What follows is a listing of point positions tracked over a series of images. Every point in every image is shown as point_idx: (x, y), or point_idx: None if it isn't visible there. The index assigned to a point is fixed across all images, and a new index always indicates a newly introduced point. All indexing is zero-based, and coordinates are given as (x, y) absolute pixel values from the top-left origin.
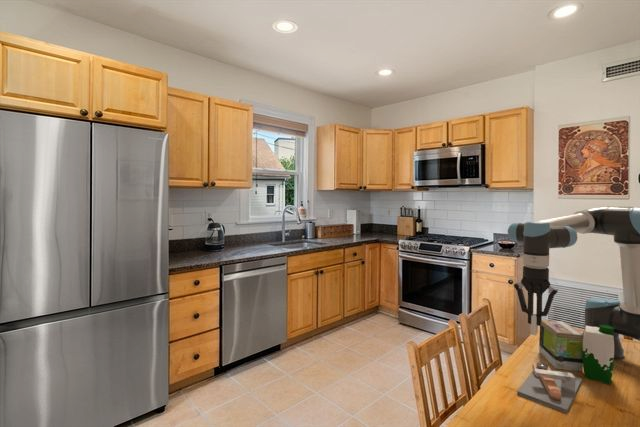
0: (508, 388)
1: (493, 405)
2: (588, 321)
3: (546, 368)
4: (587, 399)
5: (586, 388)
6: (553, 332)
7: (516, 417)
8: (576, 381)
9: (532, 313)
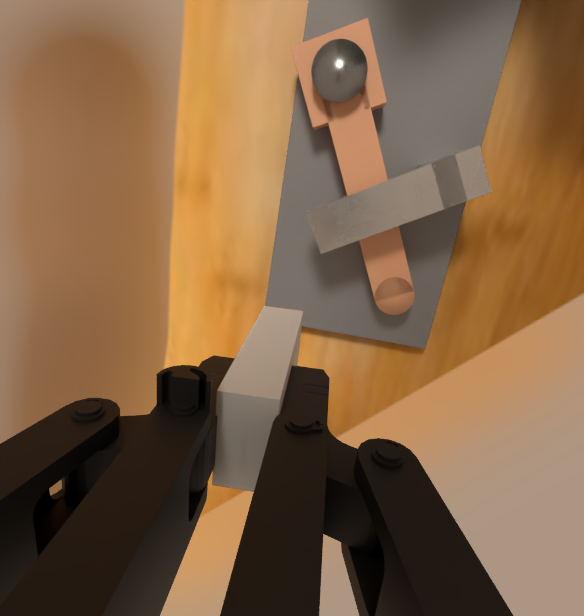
0: (232, 289)
1: None
2: None
3: (360, 90)
4: (508, 186)
5: (524, 69)
6: None
7: None
8: (490, 54)
9: (211, 442)
